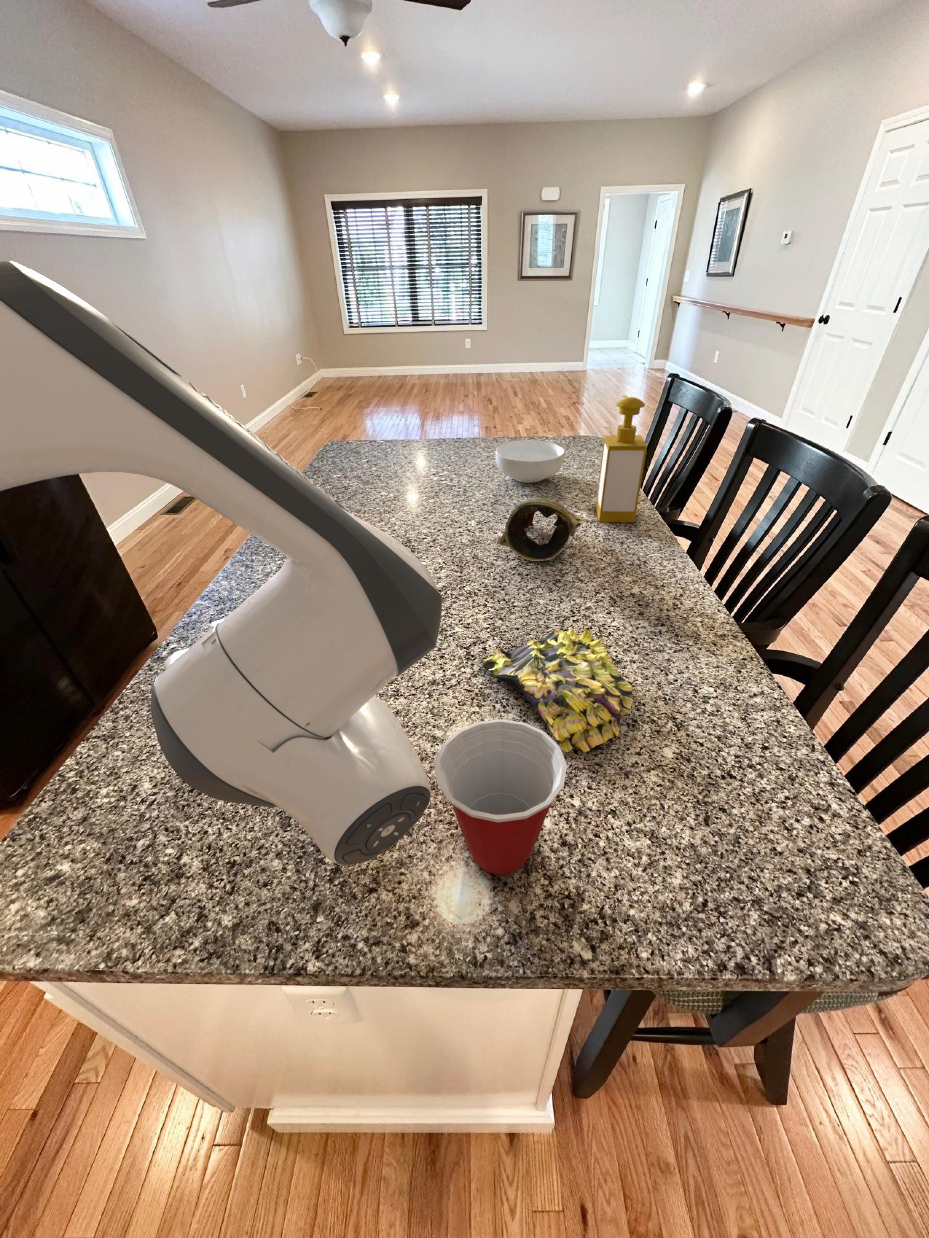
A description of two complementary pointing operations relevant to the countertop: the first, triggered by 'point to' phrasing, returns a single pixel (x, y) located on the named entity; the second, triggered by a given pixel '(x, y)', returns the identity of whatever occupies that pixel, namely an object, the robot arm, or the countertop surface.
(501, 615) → the countertop surface
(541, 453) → the cereal bowl
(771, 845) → the countertop surface
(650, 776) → the countertop surface
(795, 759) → the countertop surface
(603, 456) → the soap bottle
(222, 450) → the robot arm
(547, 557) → the pot
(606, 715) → the banana patterned fabric
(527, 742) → the plastic cup
